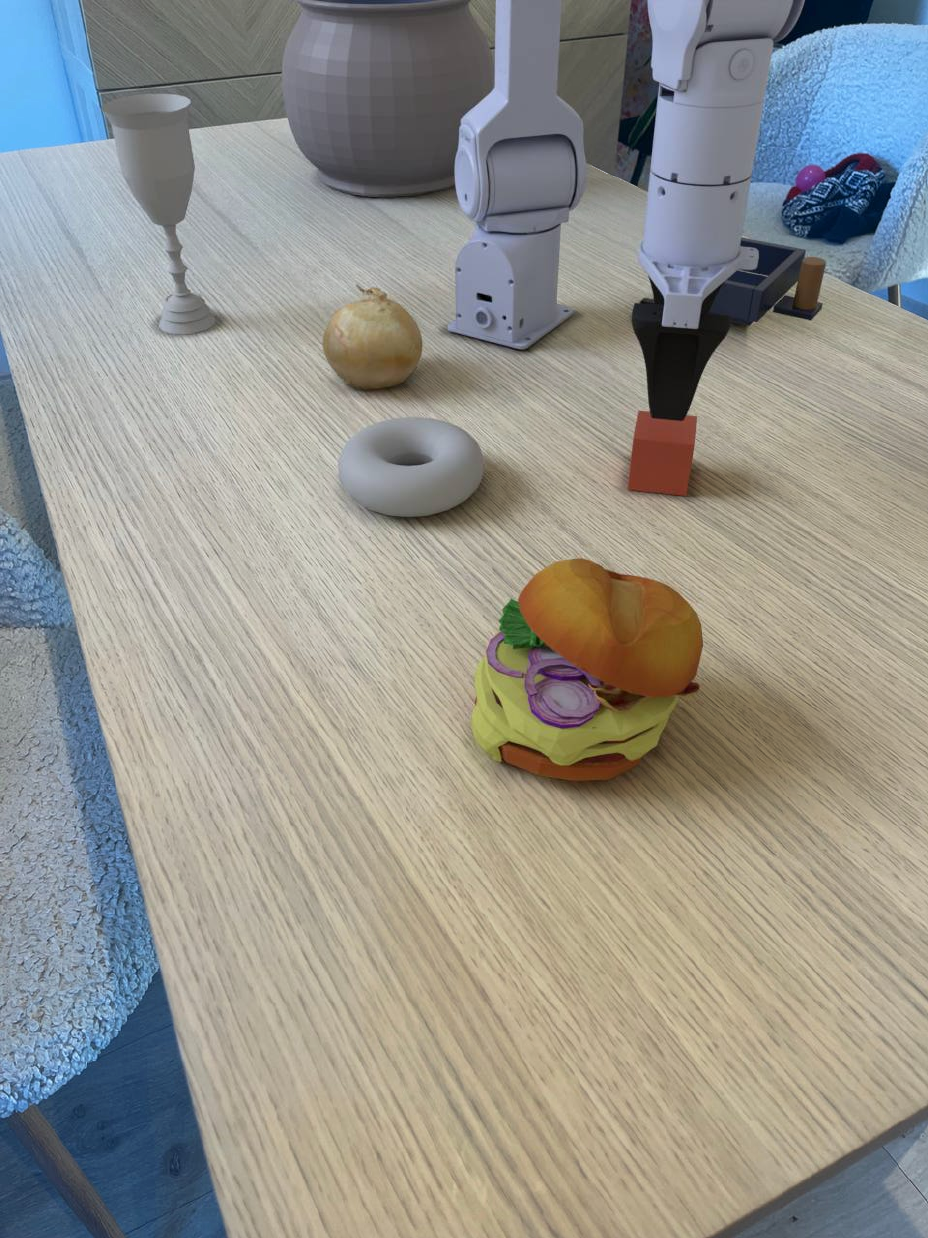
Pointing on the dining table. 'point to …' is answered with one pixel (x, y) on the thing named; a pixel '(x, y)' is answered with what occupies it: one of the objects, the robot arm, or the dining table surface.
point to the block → (662, 454)
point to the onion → (372, 342)
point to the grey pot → (384, 91)
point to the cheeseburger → (585, 672)
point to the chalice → (161, 186)
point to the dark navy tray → (772, 285)
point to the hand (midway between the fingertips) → (671, 389)
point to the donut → (410, 491)
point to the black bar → (647, 301)
